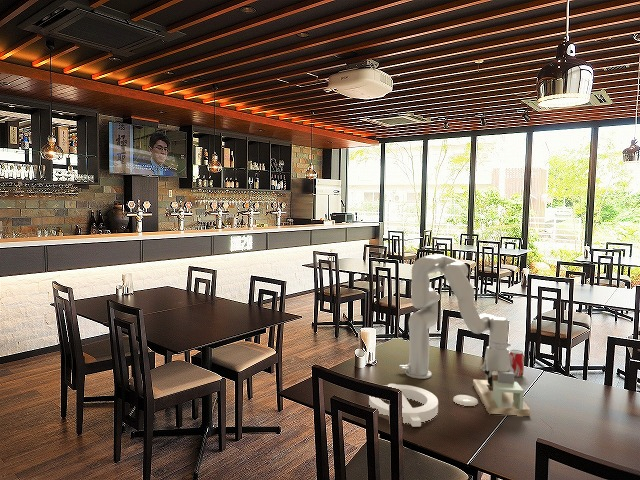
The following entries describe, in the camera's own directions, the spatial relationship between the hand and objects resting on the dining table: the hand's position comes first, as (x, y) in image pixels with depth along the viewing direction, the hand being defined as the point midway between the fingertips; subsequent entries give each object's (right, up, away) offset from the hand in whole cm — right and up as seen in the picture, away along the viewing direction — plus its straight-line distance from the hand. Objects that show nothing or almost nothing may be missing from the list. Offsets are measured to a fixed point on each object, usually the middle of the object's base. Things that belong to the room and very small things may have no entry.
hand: (496, 384), depth 209 cm
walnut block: (0, -4, 0) cm, 4 cm away
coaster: (-16, -5, -8) cm, 19 cm away
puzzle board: (-1, -5, -6) cm, 7 cm away
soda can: (+19, -3, +24) cm, 31 cm away
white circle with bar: (-44, -6, -14) cm, 47 cm away
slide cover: (-2, -2, -17) cm, 18 cm away
